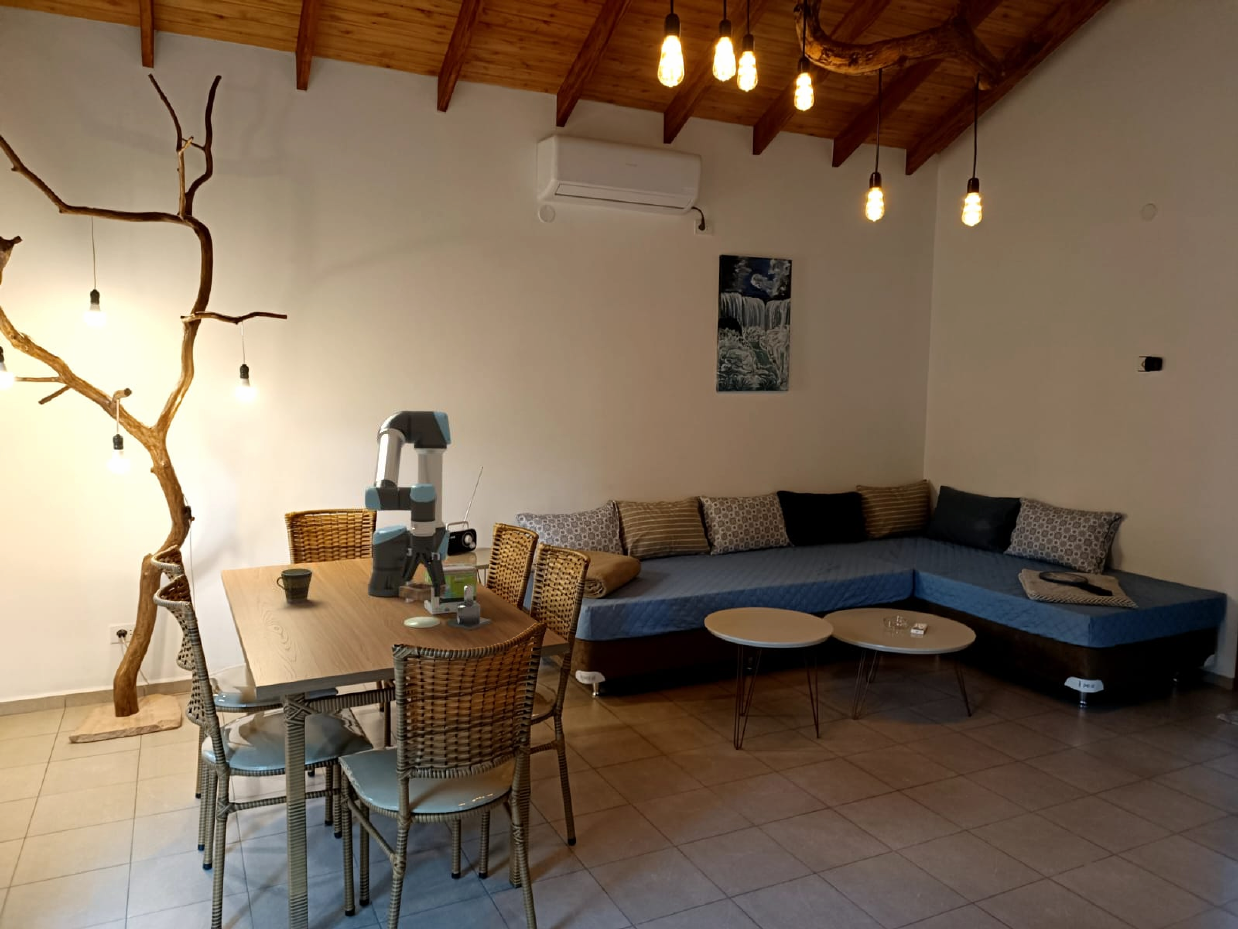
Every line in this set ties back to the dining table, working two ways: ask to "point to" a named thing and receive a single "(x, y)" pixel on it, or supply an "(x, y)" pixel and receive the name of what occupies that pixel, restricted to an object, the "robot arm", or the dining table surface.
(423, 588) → the walnut link
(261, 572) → the dining table surface
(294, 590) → the ceramic cup
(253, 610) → the dining table surface
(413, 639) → the dining table surface
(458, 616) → the peg stand
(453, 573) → the tea box
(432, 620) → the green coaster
